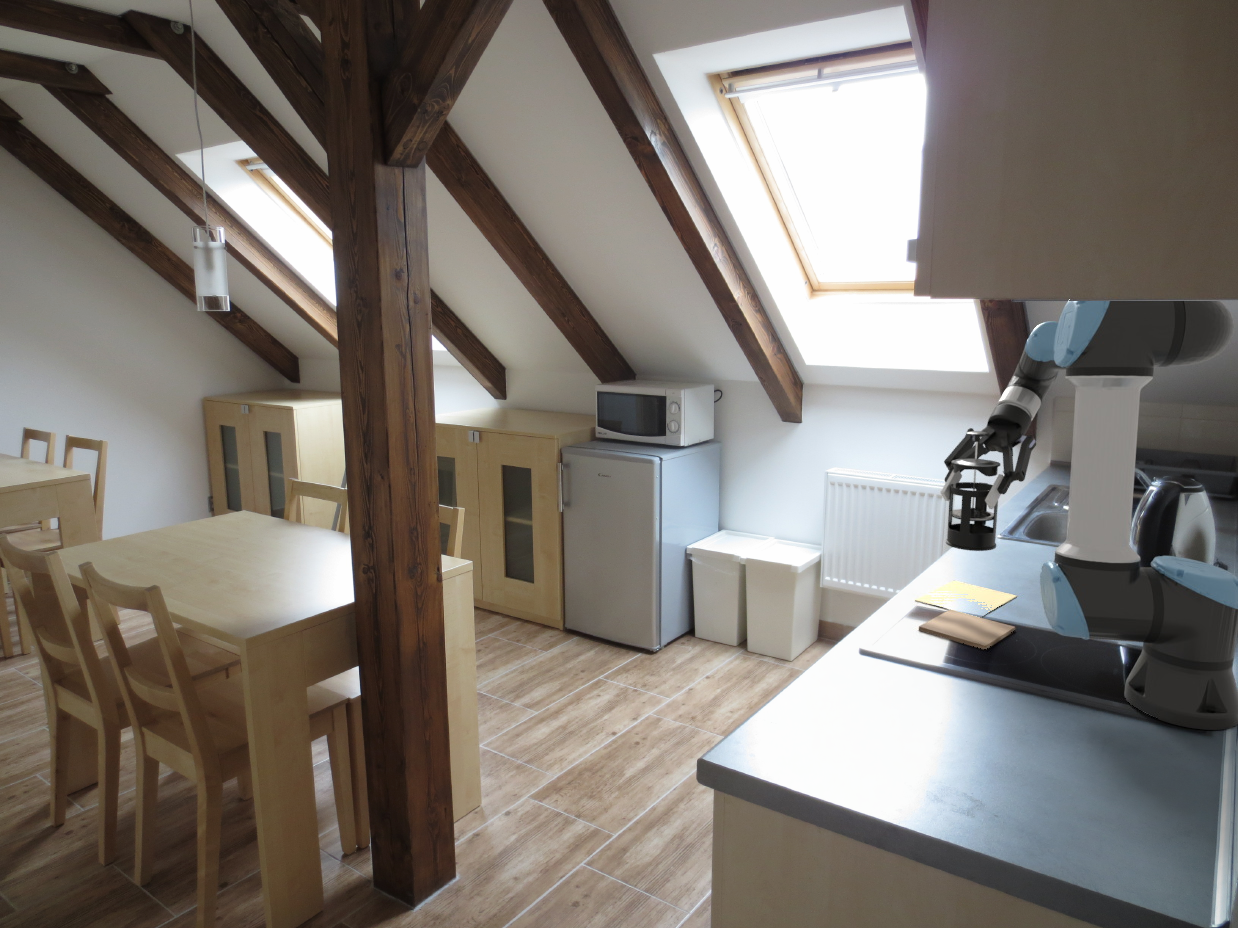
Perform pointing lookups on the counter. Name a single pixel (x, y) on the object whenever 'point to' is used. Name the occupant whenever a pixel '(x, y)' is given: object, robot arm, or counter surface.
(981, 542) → the french press
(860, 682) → the counter surface
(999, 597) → the recipe card
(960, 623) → the wooden cutting board
